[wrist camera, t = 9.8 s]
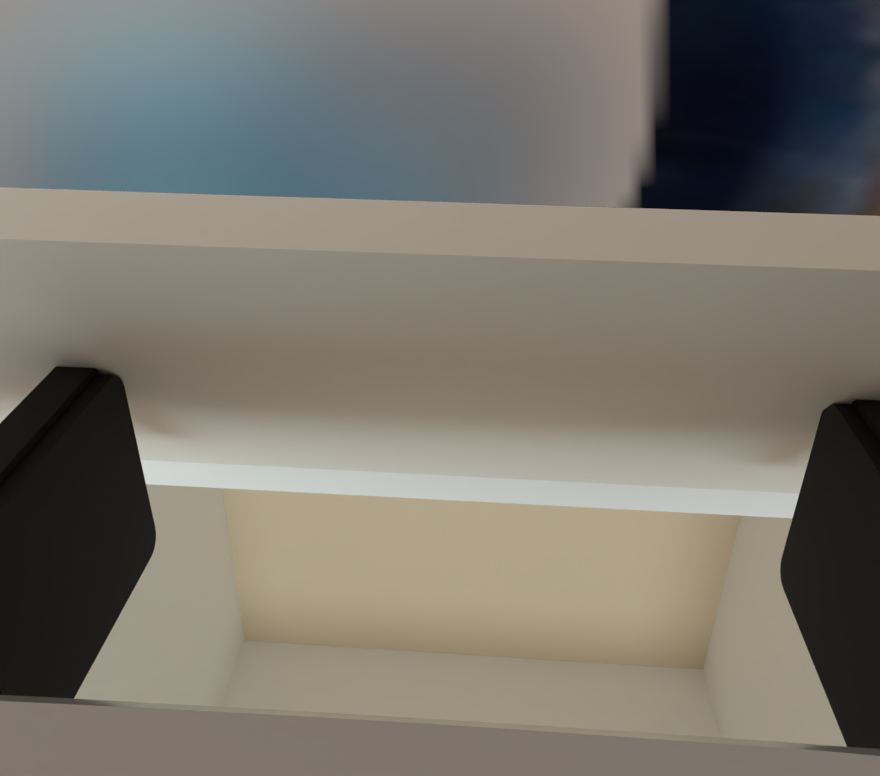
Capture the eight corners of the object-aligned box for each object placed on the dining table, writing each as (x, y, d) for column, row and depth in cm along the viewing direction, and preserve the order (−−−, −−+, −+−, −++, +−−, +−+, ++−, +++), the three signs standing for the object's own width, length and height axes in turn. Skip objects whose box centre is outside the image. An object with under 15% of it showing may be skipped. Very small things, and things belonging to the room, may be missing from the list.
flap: (1021, 504, 15) (1017, 477, 15) (1752, 302, 6) (1722, 243, 6) (-39, 450, 16) (-33, 425, 16) (-624, 216, 7) (-598, 167, 8)
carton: (816, 258, 25) (1029, 504, 15) (712, 668, 34) (799, 998, 24) (172, 235, 26) (-46, 449, 16) (236, 638, 35) (123, 941, 25)
